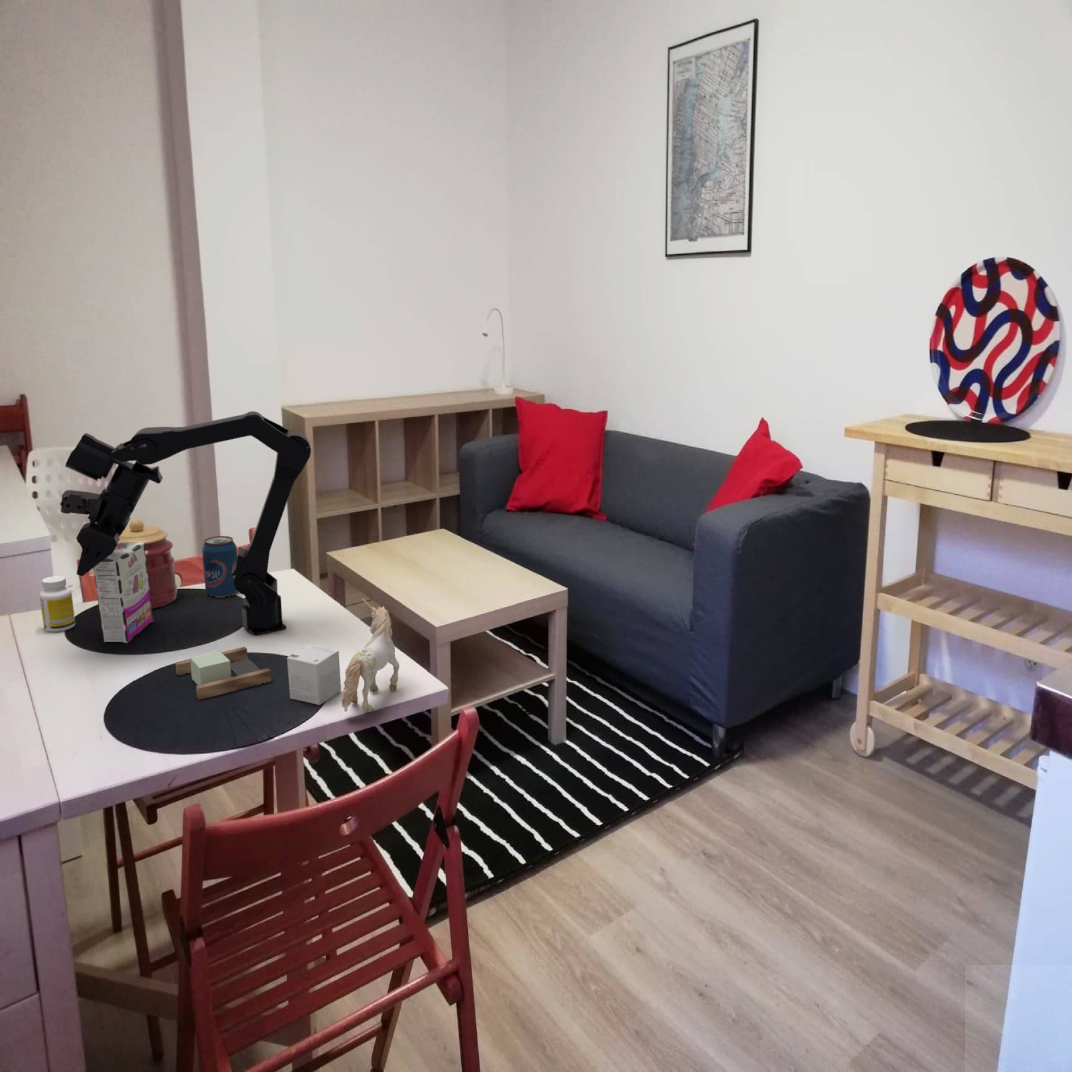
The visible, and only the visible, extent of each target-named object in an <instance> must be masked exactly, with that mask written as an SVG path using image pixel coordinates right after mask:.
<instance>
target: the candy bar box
mask: <svg viewBox="0 0 1072 1072" xmlns="http://www.w3.org/2000/svg"><path fill="white" fill-rule="evenodd" d="M92 569H93V574H94V582H95V589H96V595H97V601H98V610H99V617H100V623H101V631H102V638H103V639H102V640H103V643H105V642H123V643H122V644H129V643H131V641H132V640H133V638H134V637H135V636H136V637H137V636H138V635H140V634H141V633H140V632H141V631H142V630H143V629H144V628H145V629H146V628H148V626H150V625H151V624H152V623H153V622H154V617H153V609H152V605H151V598H150V589H149V582H148V572H147V565H146V556H145V549H144V543H134V542H129V543H127V542H122V543H119V544H117V546H116V548H115V550H114V551H113V553H112V554H111V555H110V556H108V557H107V558H105V559H104V560H103V561H101V562H100V563H99V564H98V565H96V566H95V567H94V568H92ZM151 622H152V623H151ZM150 623H151V624H150ZM149 624H150V625H149ZM145 629H144V630H145ZM144 630H143V631H144ZM143 631H142V632H143ZM137 634H138V635H137ZM136 637H135V638H136ZM135 638H134V639H135ZM130 640H131V641H130ZM128 642H129V643H128Z"/></svg>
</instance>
